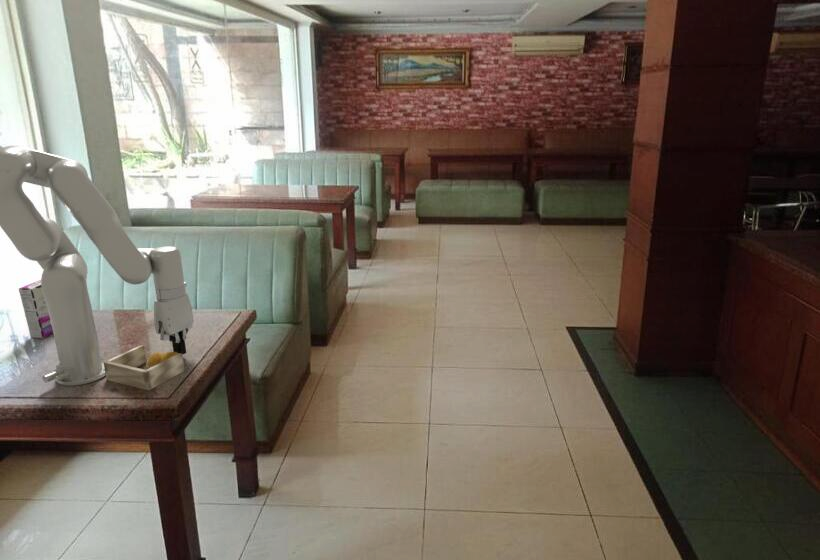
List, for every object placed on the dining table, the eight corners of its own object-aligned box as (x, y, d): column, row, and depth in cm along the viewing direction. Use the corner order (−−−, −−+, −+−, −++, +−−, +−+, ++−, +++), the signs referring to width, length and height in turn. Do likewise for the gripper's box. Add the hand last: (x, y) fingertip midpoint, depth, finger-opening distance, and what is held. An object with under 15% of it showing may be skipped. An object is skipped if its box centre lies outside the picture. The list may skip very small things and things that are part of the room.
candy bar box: (56, 325, 189) (46, 277, 184) (69, 325, 188) (59, 277, 183) (29, 338, 178) (17, 287, 173) (43, 339, 177) (32, 288, 173)
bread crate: (148, 390, 145) (145, 372, 143) (106, 379, 151) (103, 362, 149) (184, 370, 155) (182, 353, 154) (144, 361, 161) (141, 344, 160)
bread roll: (181, 370, 156) (180, 356, 155) (146, 374, 153) (143, 361, 152) (183, 357, 164) (181, 344, 162) (149, 362, 161) (147, 348, 160)
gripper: (180, 282, 165) (189, 341, 171) (138, 298, 152) (149, 362, 158) (201, 285, 162) (209, 345, 168) (159, 302, 149) (170, 366, 155)
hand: (180, 353), depth 163 cm, fingers closed
